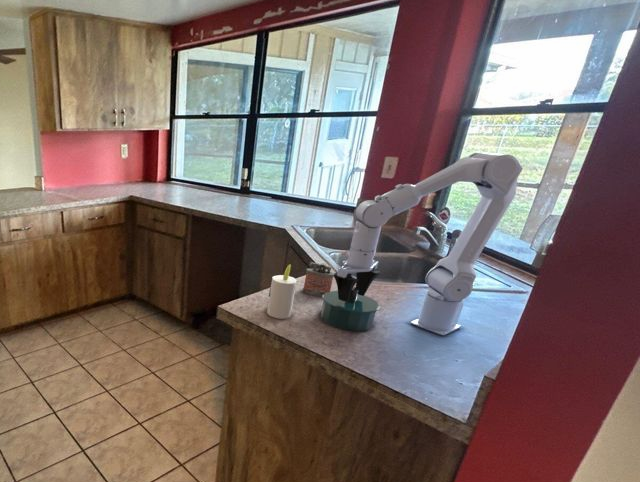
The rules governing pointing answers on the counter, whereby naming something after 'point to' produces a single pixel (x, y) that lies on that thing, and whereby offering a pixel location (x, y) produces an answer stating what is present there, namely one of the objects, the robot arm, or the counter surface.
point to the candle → (281, 295)
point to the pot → (347, 318)
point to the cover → (351, 302)
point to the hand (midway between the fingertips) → (351, 297)
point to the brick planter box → (318, 279)
